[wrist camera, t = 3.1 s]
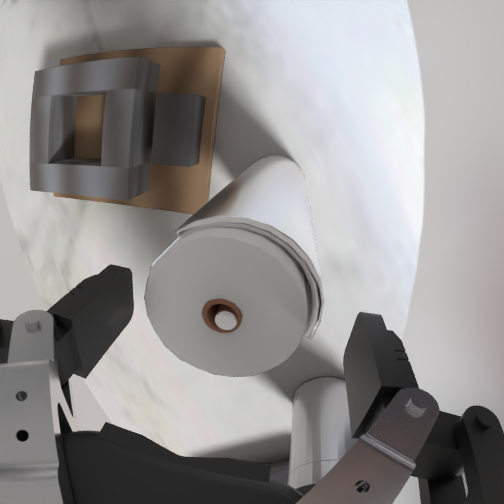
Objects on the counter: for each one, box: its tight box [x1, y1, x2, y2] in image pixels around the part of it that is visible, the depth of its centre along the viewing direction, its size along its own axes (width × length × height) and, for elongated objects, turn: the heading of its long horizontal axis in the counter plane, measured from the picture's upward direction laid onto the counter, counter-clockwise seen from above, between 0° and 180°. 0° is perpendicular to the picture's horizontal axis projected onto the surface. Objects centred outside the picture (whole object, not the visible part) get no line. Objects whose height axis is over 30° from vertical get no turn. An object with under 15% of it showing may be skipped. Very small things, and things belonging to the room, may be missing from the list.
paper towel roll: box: [144, 155, 324, 377], centre depth 22 cm, size 6×6×25 cm
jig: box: [30, 47, 225, 214], centre depth 30 cm, size 21×18×6 cm
